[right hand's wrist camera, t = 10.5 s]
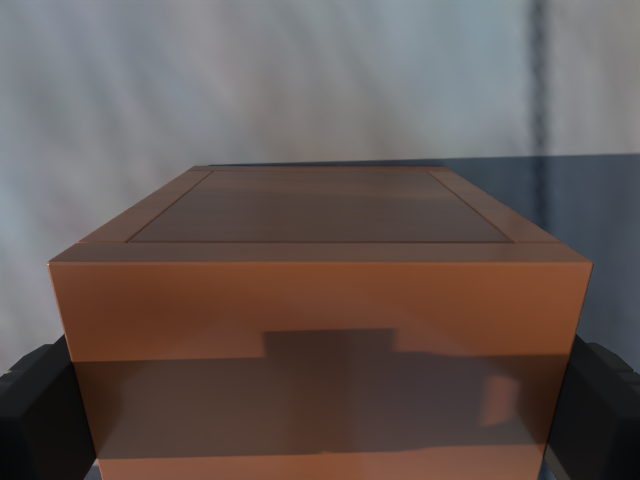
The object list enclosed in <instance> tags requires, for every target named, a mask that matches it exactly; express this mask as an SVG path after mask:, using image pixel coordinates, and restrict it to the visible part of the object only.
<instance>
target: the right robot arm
mask: <svg viewBox="0 0 640 480" xmlns="http://www.w3.org/2000/svg"><path fill="white" fill-rule="evenodd" d="M543 458H544V459H545V461H546V463H547V464H548V466H549V467H550V469H551V471H552V472H553V474H554V476H555V477H556V479H557V480H640V375H639V374H638V373H637V372H633V369H632V368H631V367H630V366H629V365H628V364H627V363H625V362H624V361H623V360H622V359H621V358H620V357H619V356H618V355H616V354H614V353H613V352H611V351H609V350H607V349H605V348H604V347H602V346H600V345H598V344H597V343H585V342H584V341H583V340H582V339H581V338H580V337H579V336H578V335H577V334H576V335H575V338H574V342H573V346H572V350H571V354H570V358H569V361H568V365H567V369H566V373H565V377H564V381H563V384H562V388H561V392H560V396H559V400H558V404H557V407H556V411H555V415H554V419H553V423H552V427H551V430H550V434H549V438H548V442H547V446H546V450H545V453H544V457H543ZM95 460H96V454H95V450H94V446H93V442H92V438H91V434H90V431H89V427H88V423H87V419H86V415H85V411H84V407H83V403H82V399H81V396H80V392H79V388H78V384H77V380H76V376H75V372H74V368H73V364H72V361H71V357H70V353H69V349H68V345H67V341H66V337H65V334H64V335H63V336H62V337H61V338H59V339H58V340H57V341H56V342H55V343H54V344H45V345H43V346H41V347H39V348H38V349H36V350H34V351H32V352H31V353H29V354H27V355H25V356H24V357H22V358H21V359H20V360H19V361H18V362H17V363H16V364H15V365H14V366H12V367H11V368H10V369H9V370H8V372H7V374H4V375H3V376H1V377H0V480H84V478H85V476H86V475H87V473H88V471H89V470H90V468H91V466H92V465H93V463H94V461H95Z"/></svg>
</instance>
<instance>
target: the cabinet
mask: <svg viewBox="0 0 640 480" xmlns="http://www.w3.org/2000/svg"><path fill="white" fill-rule="evenodd" d="M593 266H594V265H593V262H592V261H591V260H589V259H588V258H586V257H584V256H583V255H581V254H580V253H578V252H577V251H575V250H574V249H572V248H571V247H569V246H567V245H566V244H563V243H562V242H561V241H560V240H558V239H557V238H555V237H554V236H552V235H551V234H549V233H547V232H546V231H544V230H543V229H541V228H540V227H538V226H537V225H535V224H534V223H532V222H530V221H529V220H527V219H526V218H524V217H523V216H521V215H520V214H518V213H517V212H515V211H513V210H512V209H510V208H509V207H507V206H506V205H504V204H503V203H501V202H500V201H498V200H496V199H495V198H493V197H492V196H490V195H489V194H487V193H486V192H484V191H483V190H481V189H479V188H478V187H476V186H475V185H473V184H472V183H470V182H469V181H467V180H466V179H464V178H462V177H461V176H459V175H458V174H456V173H455V172H453V171H452V170H451V169H449V168H447V167H446V166H193V167H192V168H190V169H189V170H187V171H186V172H184V173H183V174H181V175H180V176H178V177H177V178H175V179H174V180H172V181H170V182H169V183H167V184H166V185H164V186H163V187H161V188H160V189H158V190H157V191H155V192H154V193H152V194H150V195H149V196H147V197H146V198H144V199H143V200H141V201H140V202H138V203H137V204H135V205H134V206H132V207H130V208H129V209H127V210H126V211H124V212H123V213H121V214H120V215H118V216H117V217H115V218H114V219H112V220H110V221H109V222H107V223H106V224H104V225H103V226H101V227H100V228H98V229H97V230H95V231H93V232H92V233H90V234H89V235H87V236H86V237H84V238H83V239H81V240H80V241H78V242H77V243H76V244H74V245H72V246H71V247H69V248H68V249H66V250H65V251H63V252H62V253H60V254H59V255H57V256H55V257H54V258H52V259H51V260H49V261H48V262H47V267H48V271H49V275H50V279H51V283H52V287H53V291H54V294H55V298H56V302H57V306H58V310H59V314H60V318H61V322H62V326H63V329H64V333H65V337H66V341H67V345H68V349H69V353H70V357H71V361H72V364H73V368H74V372H75V376H76V380H77V384H78V388H79V392H80V396H81V399H82V403H83V407H84V411H85V415H86V419H87V423H88V427H89V431H90V434H91V438H92V442H93V446H94V450H95V454H96V458H97V462H98V466H99V469H100V473H101V477H102V480H538V476H539V473H540V469H541V465H542V461H543V457H544V453H545V450H546V446H547V442H548V438H549V434H550V430H551V427H552V423H553V419H554V415H555V411H556V407H557V404H558V400H559V396H560V392H561V388H562V384H563V381H564V377H565V373H566V369H567V365H568V361H569V358H570V354H571V350H572V346H573V342H574V338H575V335H576V331H577V327H578V323H579V319H580V315H581V312H582V308H583V304H584V300H585V296H586V292H587V289H588V285H589V281H590V277H591V273H592V269H593Z"/></svg>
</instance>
